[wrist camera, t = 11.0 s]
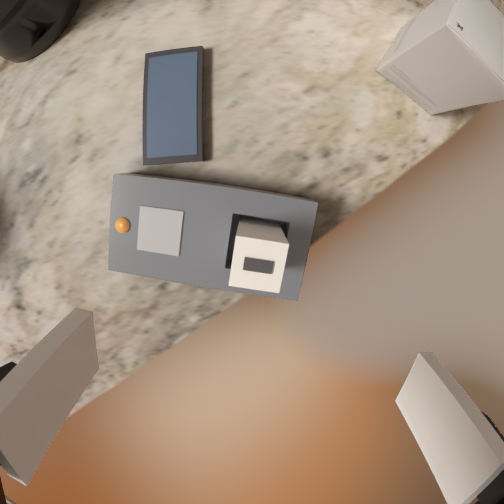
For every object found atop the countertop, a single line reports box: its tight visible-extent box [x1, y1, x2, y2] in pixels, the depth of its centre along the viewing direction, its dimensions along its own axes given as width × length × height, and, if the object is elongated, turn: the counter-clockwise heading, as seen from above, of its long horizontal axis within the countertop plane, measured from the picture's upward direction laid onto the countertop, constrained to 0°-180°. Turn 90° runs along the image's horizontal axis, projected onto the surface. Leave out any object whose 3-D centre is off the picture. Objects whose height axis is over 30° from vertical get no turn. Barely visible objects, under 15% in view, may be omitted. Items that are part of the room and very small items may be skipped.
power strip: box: [109, 173, 318, 301], centre depth 30 cm, size 10×20×4 cm, turn 81°
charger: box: [228, 217, 289, 293], centre depth 27 cm, size 4×4×9 cm
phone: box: [143, 46, 204, 165], centre depth 28 cm, size 13×6×1 cm, turn 1°
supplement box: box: [377, 0, 504, 115], centre depth 20 cm, size 9×9×15 cm
